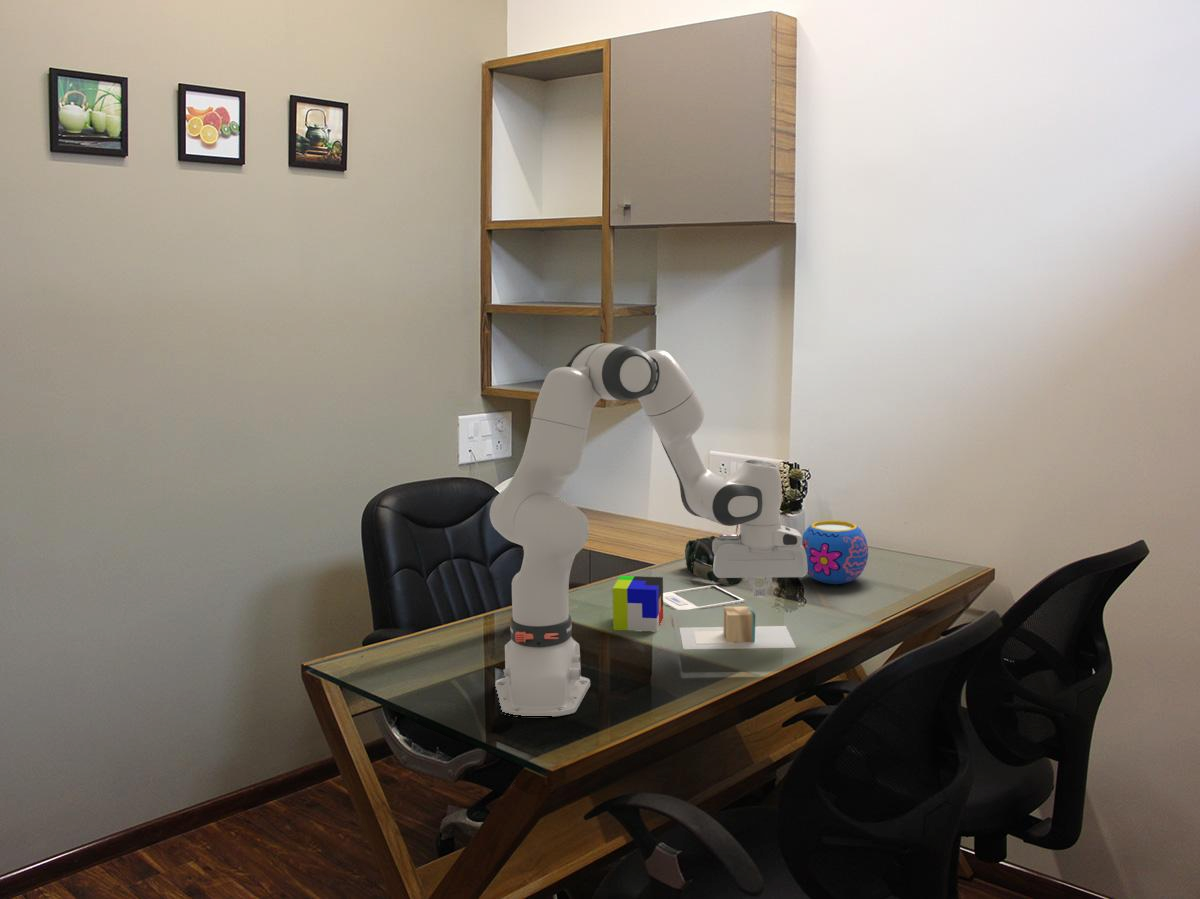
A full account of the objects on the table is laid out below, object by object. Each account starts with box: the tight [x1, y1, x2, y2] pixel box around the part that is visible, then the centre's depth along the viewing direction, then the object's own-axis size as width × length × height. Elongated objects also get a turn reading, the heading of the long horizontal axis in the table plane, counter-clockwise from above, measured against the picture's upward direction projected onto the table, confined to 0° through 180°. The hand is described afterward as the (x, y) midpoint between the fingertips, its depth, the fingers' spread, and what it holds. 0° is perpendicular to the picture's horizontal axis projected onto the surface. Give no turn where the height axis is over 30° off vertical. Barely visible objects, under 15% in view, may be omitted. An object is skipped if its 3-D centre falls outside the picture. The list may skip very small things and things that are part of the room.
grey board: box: [678, 625, 797, 650], centre depth 241 cm, size 14×24×1 cm, turn 90°
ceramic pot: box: [801, 520, 869, 585], centre depth 283 cm, size 18×18×15 cm
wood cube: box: [723, 606, 756, 642], centre depth 240 cm, size 6×6×6 cm
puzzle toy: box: [612, 575, 664, 632], centre depth 254 cm, size 10×10×10 cm
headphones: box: [684, 535, 743, 586], centre depth 292 cm, size 13×13×20 cm
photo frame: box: [663, 584, 746, 611], centre depth 272 cm, size 15×1×18 cm
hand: (759, 596), depth 240 cm, fingers closed
